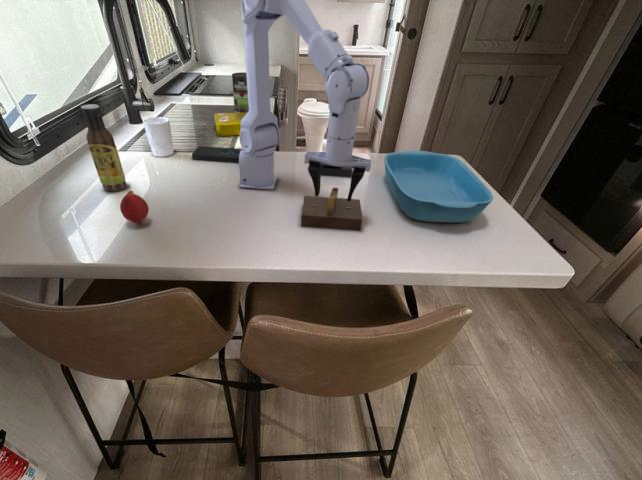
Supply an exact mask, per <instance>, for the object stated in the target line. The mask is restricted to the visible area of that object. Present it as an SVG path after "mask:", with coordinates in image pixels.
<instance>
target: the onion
mask: <svg viewBox="0 0 642 480" xmlns="http://www.w3.org/2000/svg"><path fill="white" fill-rule="evenodd" d="M119 210H120V212H121V215H122V216H123V218H124V219H126V220H127V221H130V223H131V222H132V223H135V224H142V223H143V221H144V220H145V219H146V218H147V217H148V214H149V211H150V209H149V205H148V203H147V202H146V200H145V199H144V198H143V197H142V196H140V195H138V194H136V193H134V191H133V190H132V189H128V190H127V192H126V194H125V195H124V196H123V197H122V199H121V201H120V203H119Z"/></svg>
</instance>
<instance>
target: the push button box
mask: <svg viewBox="0 0 642 480" xmlns="http://www.w3.org/2000/svg"><path fill="white" fill-rule="evenodd" d="M352 172H353V169H352V168H345V167H338V166H330V165H322V172H321V176H325V177H340V178H351V177H352Z"/></svg>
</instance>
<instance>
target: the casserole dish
mask: <svg viewBox="0 0 642 480" xmlns="http://www.w3.org/2000/svg"><path fill="white" fill-rule="evenodd" d="M384 171H385V179H386V181H387V184H388V186H389V188H390V190H391V193H392V195H393V196H394V198H395V200H396V202H397V204H398V206H399V207H400V209H401V210H402V211H403V213H404V214H405V215H406V216H408V217H409V218H410V219H412V220H415V221H418V222H426V223H427V222H428V223H465V222H469V221H472V220H473V219H476V218H477V217H478V216H480V214H481V213H483V212H484V210H485V209H486V208H487V207H488V206H489V205H490V204H491V203H492V202H493V200H494V195H493V193H492V191H491V190H490V189H489V188H488V187H487V186H486V185H485V183H483V181H482V180H480V178H479V177H477V175H476V174H475V173H474V172H473V171H472V170H471V169H470V168H469V167H468V166H467V165H466V164H465V163H464V162H463V161H461V160H460V159H458V158H457V157H455V156H452V155H449V154H446V153H445V154H444V153H438V152H432V151H425V150H403V151H402V150H401V151H394V152H389V153H387V154H386V155H385V156H384Z"/></svg>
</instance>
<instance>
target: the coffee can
mask: <svg viewBox="0 0 642 480" xmlns="http://www.w3.org/2000/svg"><path fill="white" fill-rule="evenodd" d="M231 79H232V80H231V81H232V92H233V107H234V108H233V109H234V113H242V112H248V111H249V105H248V90H247V75H246V72H233V73H232V74H231Z"/></svg>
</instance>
